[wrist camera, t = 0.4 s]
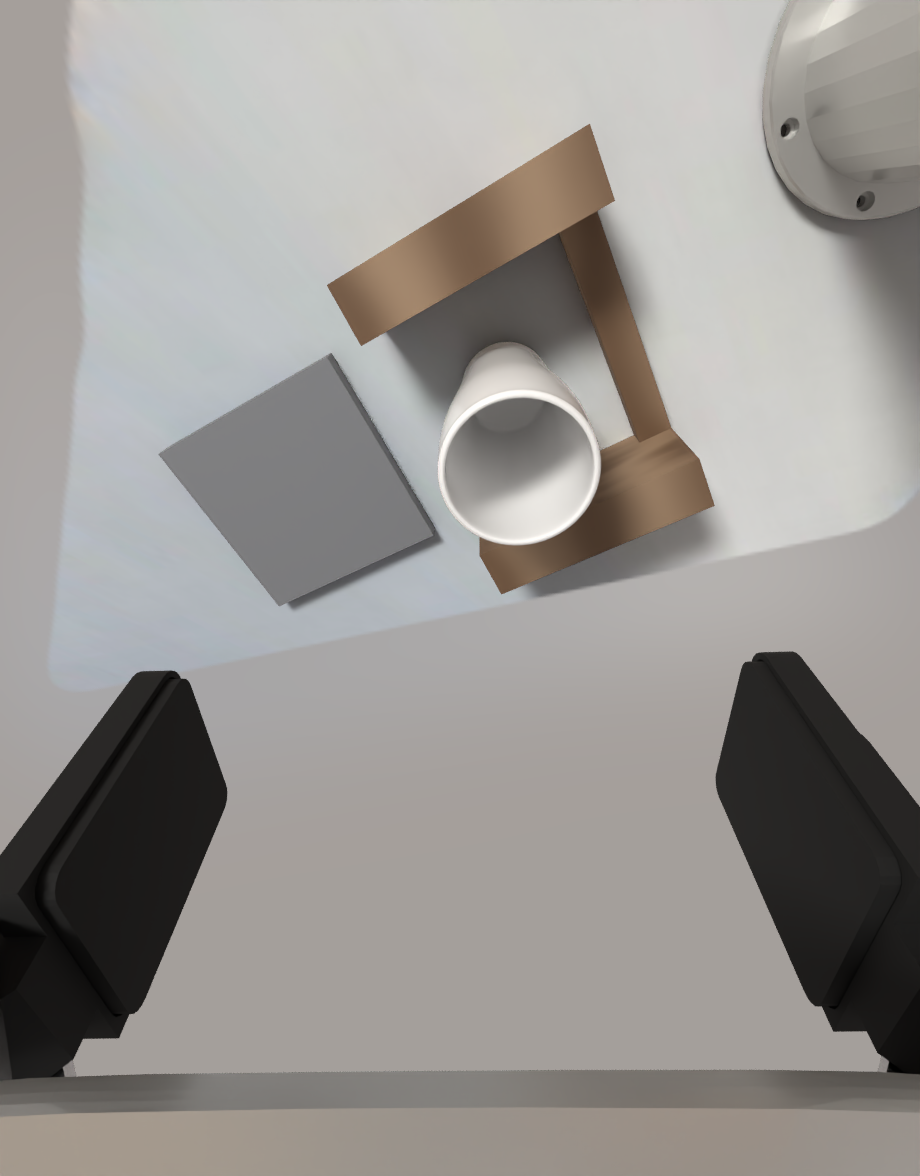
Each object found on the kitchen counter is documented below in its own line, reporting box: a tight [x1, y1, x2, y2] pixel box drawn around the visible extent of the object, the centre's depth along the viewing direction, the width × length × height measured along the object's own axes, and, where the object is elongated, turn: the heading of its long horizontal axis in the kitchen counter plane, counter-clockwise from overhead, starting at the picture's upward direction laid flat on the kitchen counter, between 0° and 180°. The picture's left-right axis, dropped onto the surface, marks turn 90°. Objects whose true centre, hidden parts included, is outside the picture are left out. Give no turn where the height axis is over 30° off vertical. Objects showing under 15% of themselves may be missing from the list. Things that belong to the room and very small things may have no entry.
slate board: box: [159, 353, 435, 606], centre depth 41 cm, size 13×13×1 cm
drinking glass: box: [438, 342, 601, 545], centre depth 31 cm, size 7×7×15 cm
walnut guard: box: [327, 124, 715, 594], centre depth 34 cm, size 13×19×7 cm
